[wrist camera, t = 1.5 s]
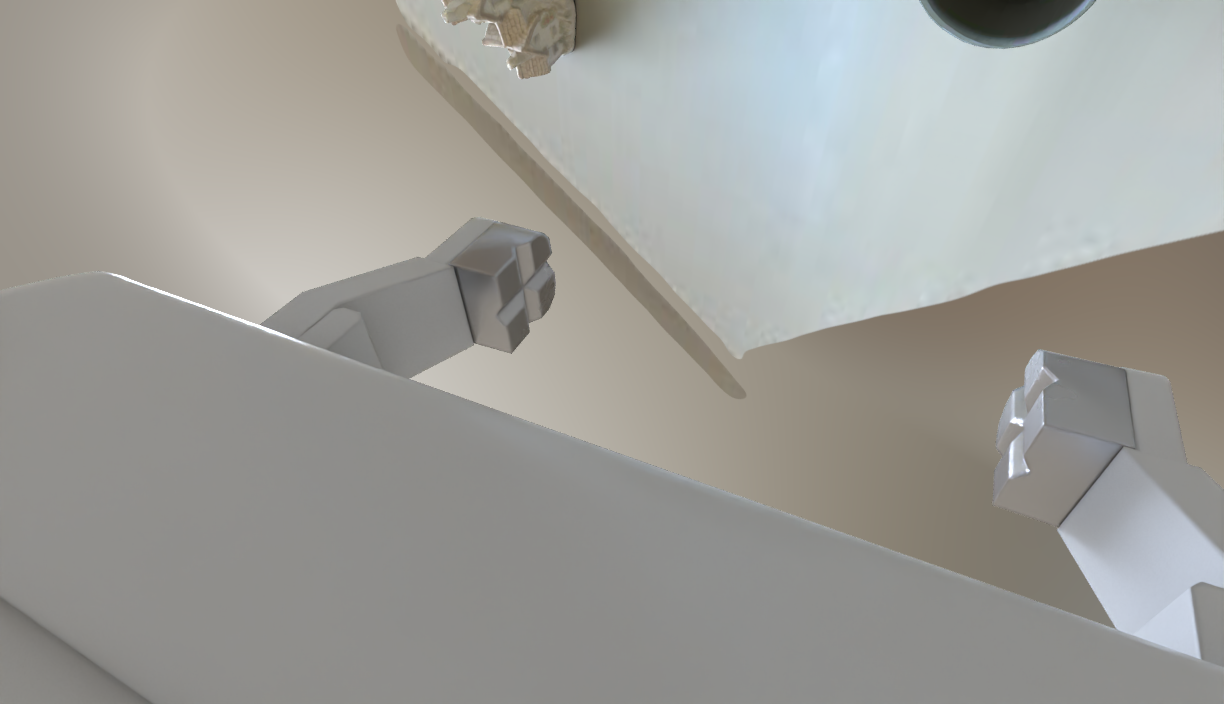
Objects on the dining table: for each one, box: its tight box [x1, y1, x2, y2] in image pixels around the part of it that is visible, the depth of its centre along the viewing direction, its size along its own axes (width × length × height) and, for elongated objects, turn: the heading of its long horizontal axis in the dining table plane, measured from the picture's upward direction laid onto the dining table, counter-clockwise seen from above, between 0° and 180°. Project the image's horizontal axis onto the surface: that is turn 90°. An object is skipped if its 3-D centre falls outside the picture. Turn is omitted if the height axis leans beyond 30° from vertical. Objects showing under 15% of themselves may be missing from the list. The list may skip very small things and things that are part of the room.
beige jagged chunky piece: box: [441, 0, 576, 80], centre depth 76 cm, size 16×16×15 cm
